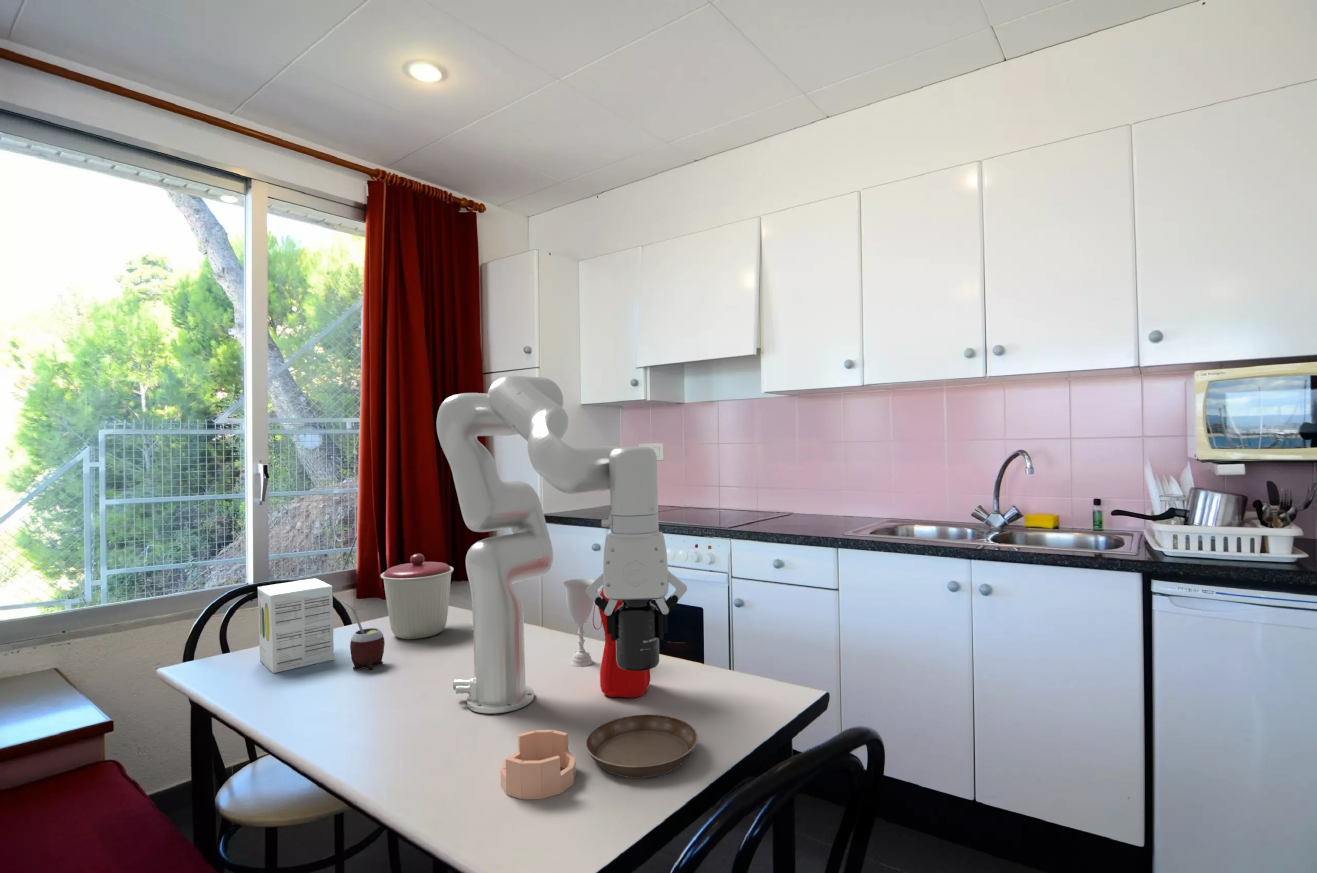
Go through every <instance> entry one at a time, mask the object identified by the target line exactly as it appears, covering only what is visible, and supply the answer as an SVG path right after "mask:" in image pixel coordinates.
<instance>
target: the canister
mask: <svg viewBox="0 0 1317 873" xmlns="http://www.w3.org/2000/svg"><path fill="white" fill-rule="evenodd" d="M409 561H410V562H409V563H403V564H398V565H395V566H394V565H393V566H391V567H389V568H387V569H386V570H385V571H384V572H382V573H381V574H380V578H381V579H382V580H383V585H384V593H385V599H386V607H387V613H388V614H387V615H388V620H389V625H390V630H391V632H392V633H393V634H394V636H395V637H397V638H399V639H403V640H404V639H405V640H417V639H418V640H419V639H424V638H425V639H426V638H429V637H433V636H436V635H438V634H440V633H442V632H443V631H444V629H445V627H446V626H447V621H448V615H449V614H448V613H449V603H450V592H451V591H450V590H451V583H452V582H451V581H452V580H451V578H452V573H453V572H454V567H453V566H451V565H449V564H447V563H445V562H440V561H439V562H438V561H425V556H424V554H422V553H415V554H413V555H411V556H410V559H409Z"/></svg>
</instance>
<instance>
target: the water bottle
mask: <svg viewBox="0 0 1317 873" xmlns="http://www.w3.org/2000/svg"><path fill="white" fill-rule="evenodd" d="M598 593H599V594H600V595H601V596H602V597H603V598H604V599H605V600H606V601H609V599H608V598H606V597H605V596H604V591H603V587H602V588H601V589H600V591H599V592H598ZM622 604H623V602H622V601H621V600H618V601H617V603H616V605H615V607H614V608H615V612H616V610H617V608H618V607H619V606H621V605H622ZM596 606H597V605H596V604H595V603H594V605H593V614H592V625H593V627H594V628H593V629H595V630H597V631H598V630H600V629H601V627H602V628H603V631H604V648H603V653H602V659H601V665H600V669H599V686H600V689H601V692H602V693H603V694H604V695H606V696H607V697H610V698H611V697H612V698H613V697H614V698H627V699H628V698H630V699H631V698H632V699H633V698H638V697H641V696H643V694H645V693H646V692H647V690H648V688H649V686H650V682H651V669H649V670H644V671H629V670H624V669H621V668H620V667H619V666H618V665H617V662H616V640H615V641H611V634H607V615H605V613H604V612H603V611H602V610H601V609H600V608H599V607H598V606H597V607H598V613H599V615H600V616H599V617H600V621H601V622H600V627H599V628H597V627H596V626H595V623H594V621H595V620H594V618H595V608H596Z"/></svg>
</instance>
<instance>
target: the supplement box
mask: <svg viewBox="0 0 1317 873" xmlns="http://www.w3.org/2000/svg"><path fill="white" fill-rule="evenodd" d="M257 602H258V603H257V604H258V606H257V607H258V609H257V610H258V629H259V630H258V633H259V635H258V636H259V661H260V662H261V663H262V664H263V665H264V666H265V667H266V668H267V669H268V670H270V672H271V673H272V674H276V673H280V672H285V671H288V670H294V669H297V668H301V667H302V668H303V667H307V666H311V665H312V666H313V665H314V664H315V665H316V664H320V663H325V662H329V661H333V660H335V651H334V650H335V648H334V647H335V644H334V642H335V641H334V603H333V602H334V600H333V585H331V584H329V583H327V582H325V581H322V580H320V579H318V578H317V577H316V578H309V579H303V580H301V579H300V580H296V581H288V582H282V583H275V584H269V585H262V586H257Z"/></svg>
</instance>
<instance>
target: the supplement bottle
mask: <svg viewBox="0 0 1317 873" xmlns="http://www.w3.org/2000/svg"><path fill="white" fill-rule="evenodd" d="M621 601H622V602H623V604H622V605H621V606H619V607H618V608H617V610H616V662H617V665H618V666H619V667H620V668H621V669H624V670H629V671H644V670H649V669H650V670H652V669H655V668H657V666H658V665H659V663H660V639H659V627H658V611H659V609H658V608H657V606H656V605H655V604H653V603H651V602H652V601H653V599H652V600H621Z"/></svg>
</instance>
